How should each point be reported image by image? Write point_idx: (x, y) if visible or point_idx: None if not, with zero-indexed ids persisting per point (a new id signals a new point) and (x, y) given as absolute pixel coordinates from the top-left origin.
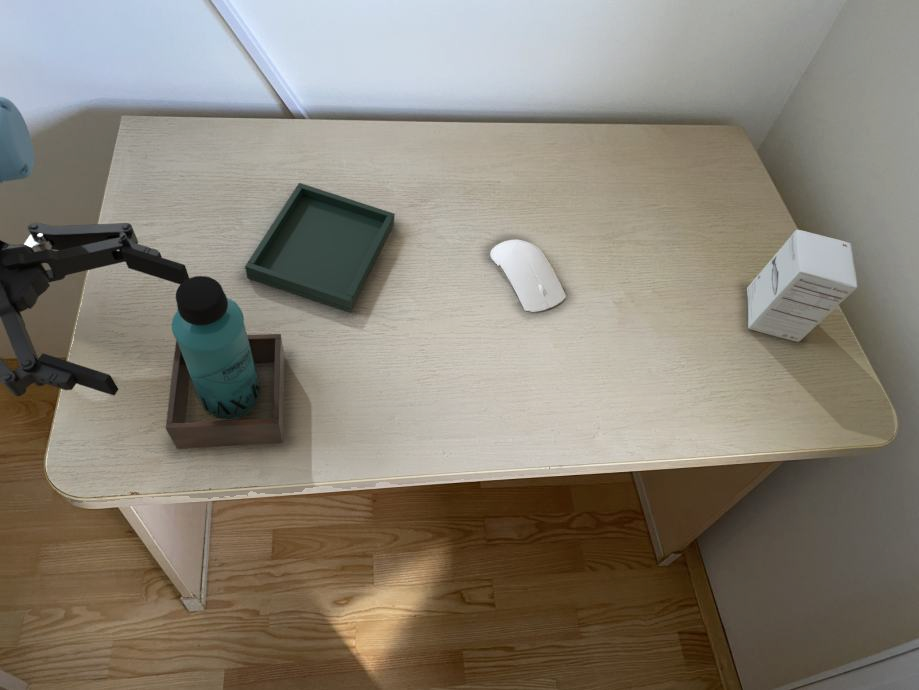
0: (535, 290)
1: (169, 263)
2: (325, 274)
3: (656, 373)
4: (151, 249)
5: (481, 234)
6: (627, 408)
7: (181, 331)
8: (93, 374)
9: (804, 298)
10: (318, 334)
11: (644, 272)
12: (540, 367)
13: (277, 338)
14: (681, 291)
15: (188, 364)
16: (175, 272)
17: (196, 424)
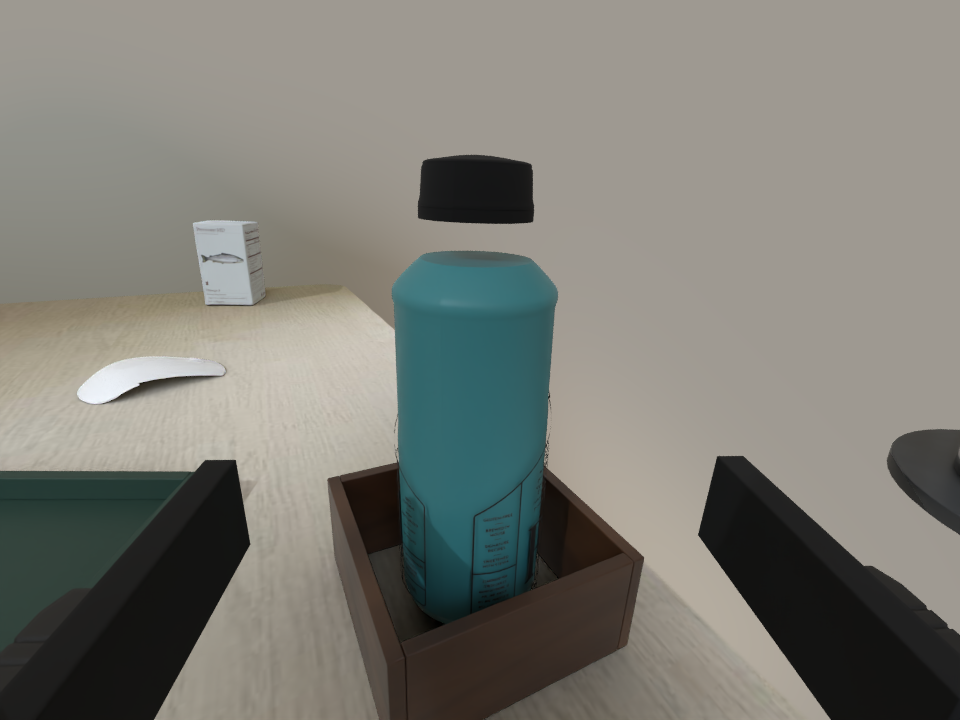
0: (195, 362)
1: (192, 494)
2: (88, 549)
3: (305, 327)
4: (28, 631)
5: (46, 415)
6: (346, 334)
7: (537, 274)
8: (762, 486)
9: (252, 249)
10: (268, 528)
11: (172, 333)
12: (308, 364)
13: (340, 478)
14: (203, 322)
15: (546, 395)
16: (226, 502)
17: (594, 515)
